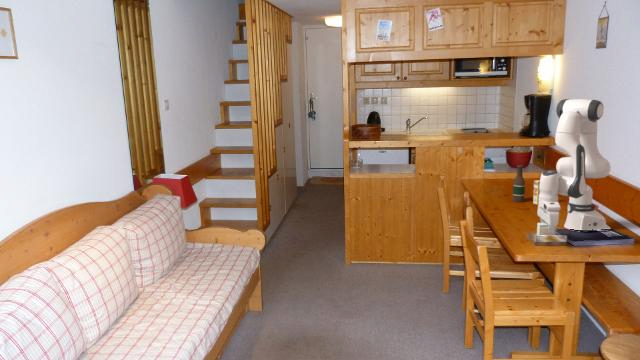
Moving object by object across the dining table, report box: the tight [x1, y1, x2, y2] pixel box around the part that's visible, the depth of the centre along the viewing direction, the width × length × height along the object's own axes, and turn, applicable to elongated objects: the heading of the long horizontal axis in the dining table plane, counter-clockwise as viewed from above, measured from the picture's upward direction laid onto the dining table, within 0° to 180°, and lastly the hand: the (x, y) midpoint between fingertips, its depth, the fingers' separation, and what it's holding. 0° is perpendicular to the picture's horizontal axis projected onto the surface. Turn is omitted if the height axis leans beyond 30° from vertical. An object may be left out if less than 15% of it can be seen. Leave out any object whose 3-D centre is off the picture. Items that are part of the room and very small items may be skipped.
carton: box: [536, 222, 557, 235], centre depth 263 cm, size 4×8×7 cm, turn 85°
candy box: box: [532, 179, 540, 206], centre depth 334 cm, size 9×4×15 cm, turn 107°
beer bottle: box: [512, 164, 526, 203], centre depth 341 cm, size 8×8×24 cm
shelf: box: [525, 232, 568, 247], centre depth 264 cm, size 15×14×5 cm
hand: (546, 229), depth 263 cm, fingers open, 8 cm apart
